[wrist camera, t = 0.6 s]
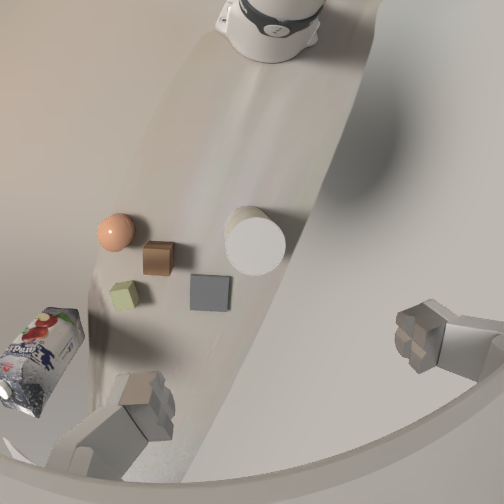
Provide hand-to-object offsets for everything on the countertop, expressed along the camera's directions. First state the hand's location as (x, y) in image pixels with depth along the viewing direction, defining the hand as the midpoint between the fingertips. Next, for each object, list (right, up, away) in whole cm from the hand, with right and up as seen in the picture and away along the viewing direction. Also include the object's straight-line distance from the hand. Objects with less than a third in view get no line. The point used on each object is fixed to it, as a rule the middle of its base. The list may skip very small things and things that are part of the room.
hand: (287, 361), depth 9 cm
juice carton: (-42, -12, +42) cm, 61 cm away
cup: (-2, +8, +42) cm, 42 cm away
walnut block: (-17, +3, +41) cm, 44 cm away
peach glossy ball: (-25, +8, +39) cm, 46 cm away
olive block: (-25, -4, +42) cm, 49 cm away
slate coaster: (-9, -4, +44) cm, 45 cm away
